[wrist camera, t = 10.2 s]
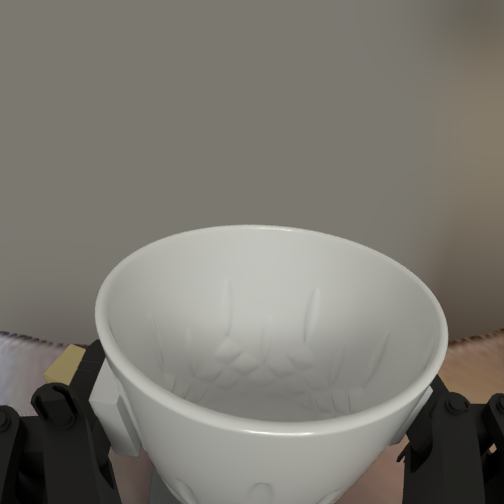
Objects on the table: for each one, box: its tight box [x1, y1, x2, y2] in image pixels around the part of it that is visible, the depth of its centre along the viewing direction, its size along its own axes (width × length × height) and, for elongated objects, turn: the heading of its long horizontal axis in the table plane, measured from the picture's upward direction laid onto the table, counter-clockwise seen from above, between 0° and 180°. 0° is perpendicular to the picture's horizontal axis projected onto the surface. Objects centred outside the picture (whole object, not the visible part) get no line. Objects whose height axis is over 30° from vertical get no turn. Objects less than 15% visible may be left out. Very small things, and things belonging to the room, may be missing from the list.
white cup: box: [95, 225, 448, 504], centre depth 9 cm, size 8×8×10 cm
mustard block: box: [43, 344, 86, 386], centre depth 20 cm, size 4×4×4 cm
